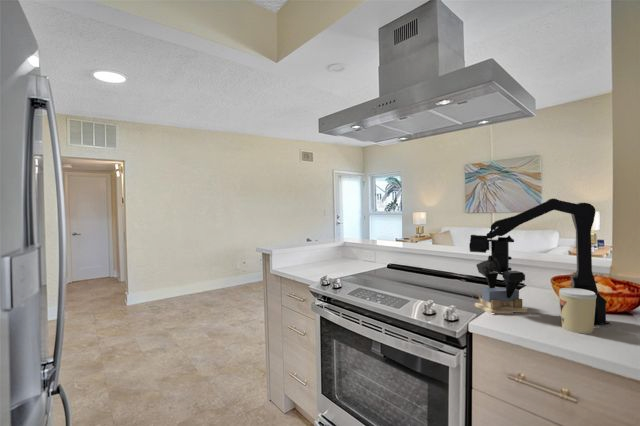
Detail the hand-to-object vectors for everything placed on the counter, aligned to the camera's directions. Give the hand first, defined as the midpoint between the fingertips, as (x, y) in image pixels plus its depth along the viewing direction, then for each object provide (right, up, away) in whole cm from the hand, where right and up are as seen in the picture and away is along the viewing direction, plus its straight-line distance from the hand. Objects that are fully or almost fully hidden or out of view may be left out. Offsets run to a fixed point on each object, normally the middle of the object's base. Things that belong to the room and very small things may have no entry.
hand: (500, 294), depth 122 cm
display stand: (0, -6, 0) cm, 6 cm away
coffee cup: (+13, -6, -20) cm, 25 cm away
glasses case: (0, -2, 0) cm, 2 cm away
